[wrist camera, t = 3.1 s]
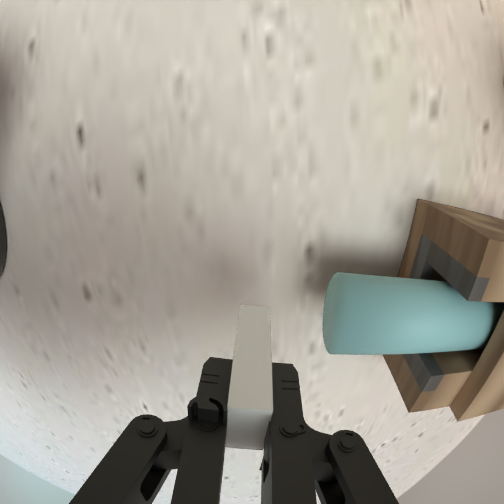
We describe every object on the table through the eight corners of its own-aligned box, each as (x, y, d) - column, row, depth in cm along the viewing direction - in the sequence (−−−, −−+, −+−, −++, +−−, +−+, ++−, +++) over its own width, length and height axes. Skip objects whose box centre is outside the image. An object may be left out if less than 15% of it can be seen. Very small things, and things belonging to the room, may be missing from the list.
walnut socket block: (375, 340, 25) (416, 430, 16) (417, 198, 20) (508, 251, 11) (479, 336, 26) (527, 399, 16) (522, 225, 21) (594, 269, 11)
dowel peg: (318, 323, 20) (331, 371, 16) (333, 259, 18) (355, 298, 14) (459, 325, 21) (487, 360, 16) (480, 274, 19) (516, 304, 14)
